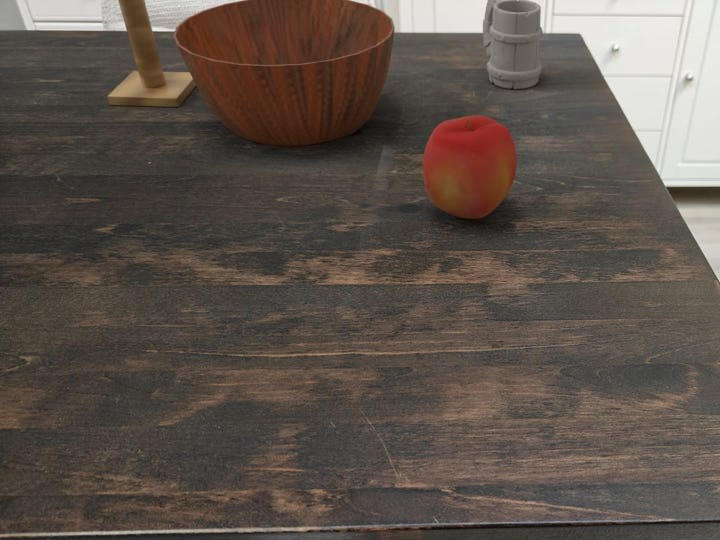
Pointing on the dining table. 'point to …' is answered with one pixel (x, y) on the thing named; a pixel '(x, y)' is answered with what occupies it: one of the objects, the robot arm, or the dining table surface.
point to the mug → (513, 42)
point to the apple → (469, 166)
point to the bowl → (289, 66)
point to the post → (148, 66)
